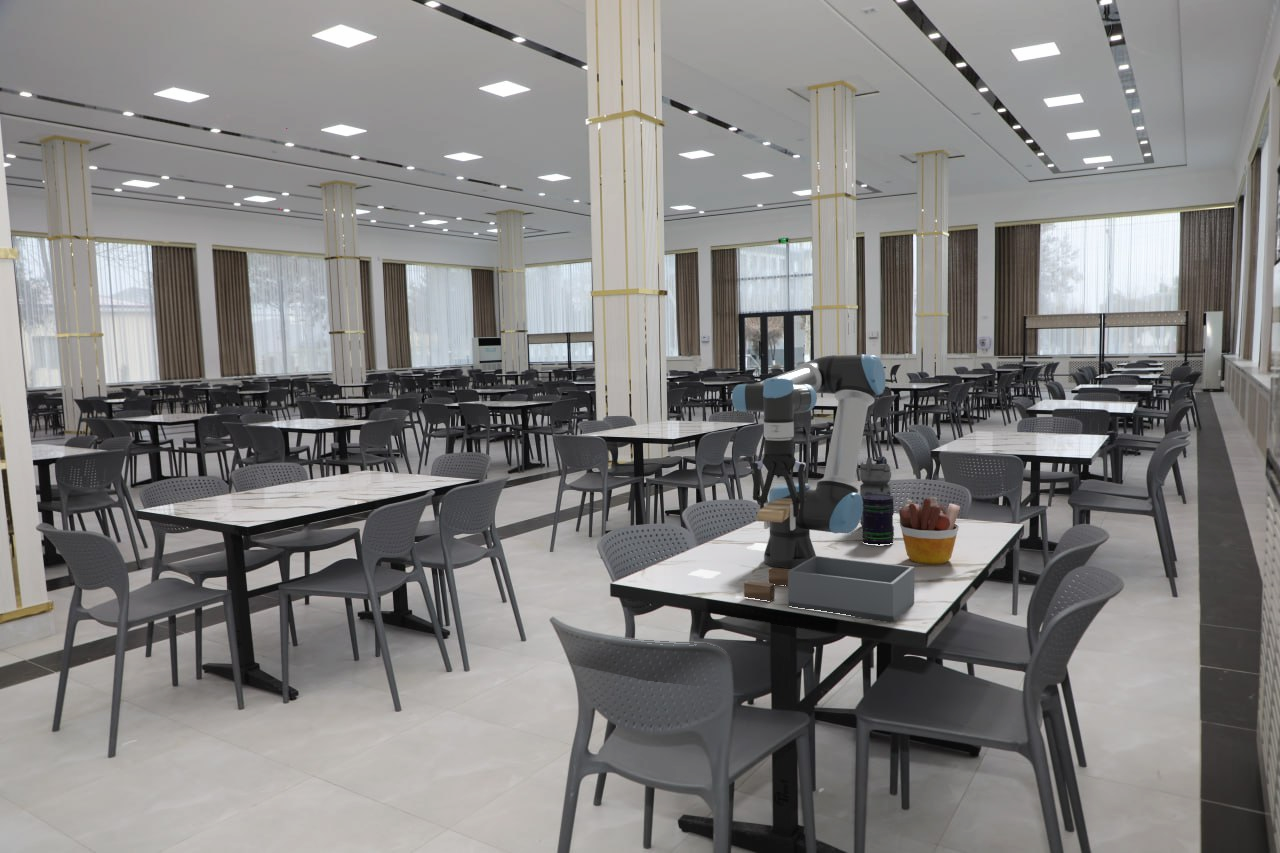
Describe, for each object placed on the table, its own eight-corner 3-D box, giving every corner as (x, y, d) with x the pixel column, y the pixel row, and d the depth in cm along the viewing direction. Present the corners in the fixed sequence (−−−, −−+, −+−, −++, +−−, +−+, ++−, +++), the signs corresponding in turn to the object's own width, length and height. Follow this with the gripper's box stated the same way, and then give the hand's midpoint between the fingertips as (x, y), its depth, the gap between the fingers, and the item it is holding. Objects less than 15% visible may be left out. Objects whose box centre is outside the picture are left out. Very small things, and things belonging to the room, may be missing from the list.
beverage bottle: (898, 525, 303) (898, 454, 301) (882, 532, 293) (881, 458, 291) (871, 522, 309) (871, 453, 307) (854, 528, 299) (853, 457, 297)
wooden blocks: (769, 602, 215) (769, 586, 215) (744, 598, 219) (743, 583, 218) (797, 585, 230) (797, 570, 230) (773, 581, 234) (773, 567, 233)
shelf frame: (788, 607, 210) (787, 571, 210) (814, 589, 225) (814, 555, 224) (893, 622, 196) (893, 584, 196) (914, 602, 211) (914, 566, 210)
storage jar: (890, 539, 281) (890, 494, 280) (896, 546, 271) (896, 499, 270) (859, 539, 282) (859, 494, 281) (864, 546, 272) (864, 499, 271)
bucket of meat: (904, 551, 265) (904, 486, 263) (961, 554, 258) (961, 489, 256) (894, 566, 247) (894, 497, 245) (955, 571, 240) (956, 500, 238)
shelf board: (781, 522, 210) (781, 512, 210) (757, 521, 213) (757, 511, 212) (799, 508, 229) (799, 499, 228) (777, 507, 231) (777, 498, 231)
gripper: (738, 439, 219) (739, 529, 221) (813, 440, 212) (813, 533, 214) (746, 436, 226) (747, 523, 228) (819, 437, 219) (819, 527, 221)
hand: (779, 528), depth 221 cm, fingers closed on shelf board, 6 cm apart
